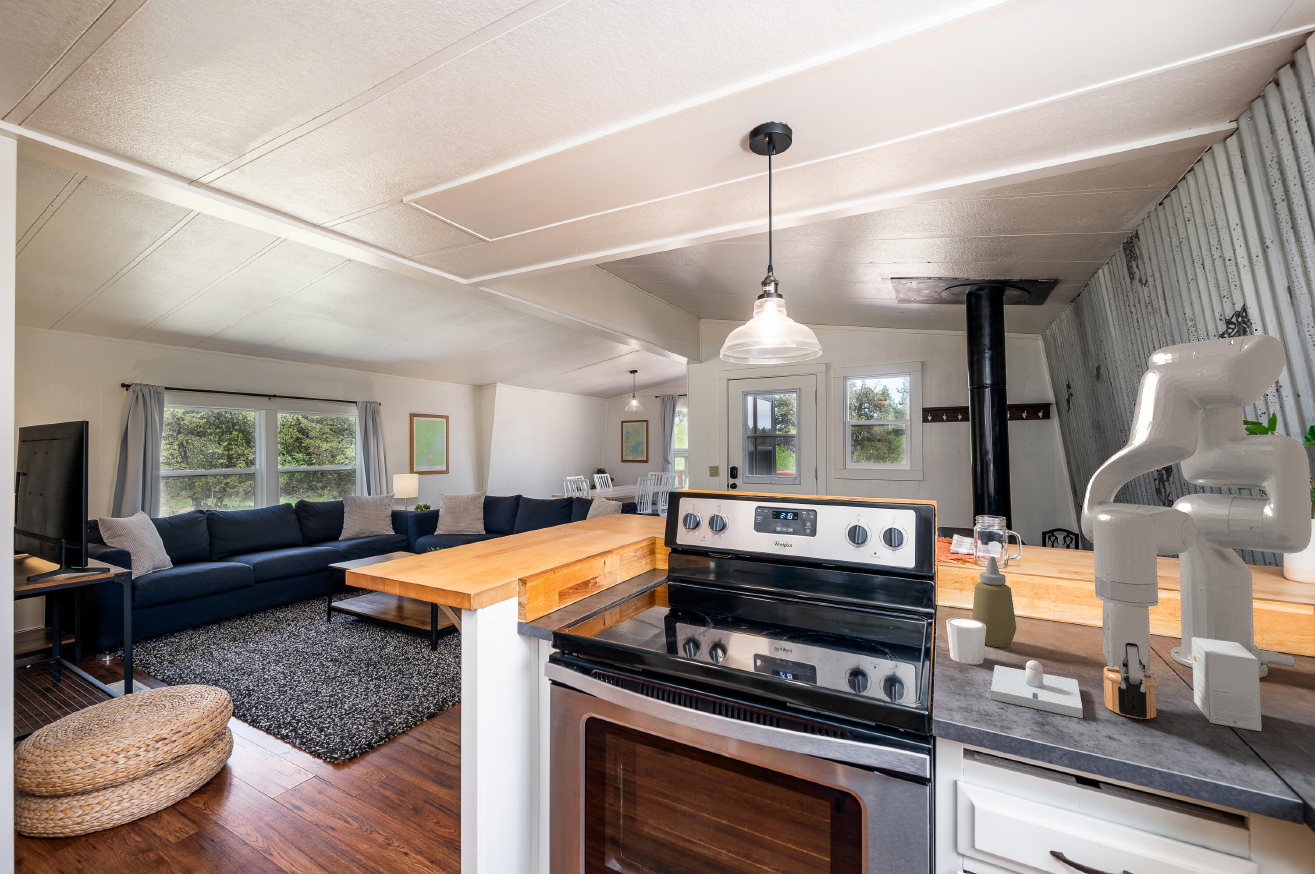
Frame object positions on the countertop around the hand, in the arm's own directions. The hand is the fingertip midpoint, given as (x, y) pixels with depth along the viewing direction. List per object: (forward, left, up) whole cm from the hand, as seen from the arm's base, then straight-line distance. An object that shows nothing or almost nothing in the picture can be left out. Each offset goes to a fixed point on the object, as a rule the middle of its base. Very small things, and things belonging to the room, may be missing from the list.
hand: (1129, 704), depth 86 cm
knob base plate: (+12, 0, -1) cm, 12 cm away
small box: (-12, -6, -1) cm, 13 cm away
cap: (0, 0, -1) cm, 1 cm away
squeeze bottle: (+19, -23, -1) cm, 30 cm away
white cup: (+23, -11, -1) cm, 26 cm away
